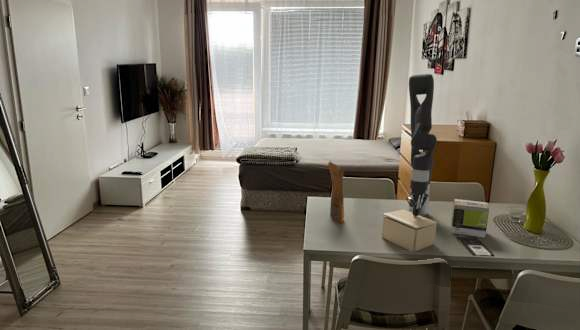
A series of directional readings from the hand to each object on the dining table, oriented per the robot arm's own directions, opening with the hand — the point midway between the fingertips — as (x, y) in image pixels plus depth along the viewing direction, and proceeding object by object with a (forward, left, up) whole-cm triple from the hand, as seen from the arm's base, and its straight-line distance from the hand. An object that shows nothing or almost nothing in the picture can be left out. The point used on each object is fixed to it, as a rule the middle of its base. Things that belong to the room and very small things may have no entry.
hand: (415, 215), depth 192 cm
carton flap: (+4, 0, -1) cm, 4 cm away
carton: (+4, 0, -11) cm, 12 cm away
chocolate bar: (-17, +20, -12) cm, 29 cm away
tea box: (-29, +9, -12) cm, 33 cm away
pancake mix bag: (+12, -39, -12) cm, 42 cm away
